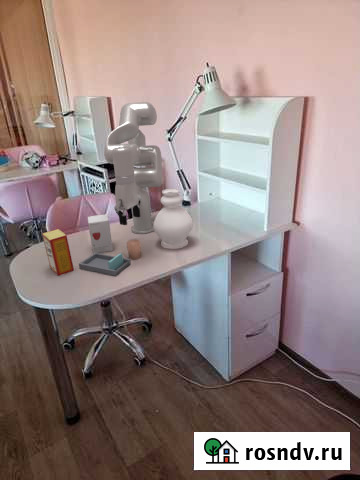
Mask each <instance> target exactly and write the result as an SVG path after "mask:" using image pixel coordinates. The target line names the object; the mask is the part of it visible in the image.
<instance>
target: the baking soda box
mask: <svg viewBox="0 0 360 480" xmlns="http://www.w3.org/2000/svg"><path fill="white" fill-rule="evenodd" d="M41 235H42V238H43V243H44V246H45V247H44V248H45V250H46V256H47V261H48V264H49V268H50V269H51V270H52V272H54V273H55V274H56V275H57V276H58V277H59V276H62V275H65V274H68V273H71V272H73V271H75V268H74V265H73V260H72V259H73V258H72V255H71V249H70V246H69V241H68V237H67V235H66V234H65V233H64V232H63V231H61V230H60V229H59V228H57V229H52V230H49V231H47V232H46V231H45V232H42V233H41Z"/></svg>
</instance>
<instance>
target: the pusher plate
mask: <svg viewBox="0 0 360 480" xmlns="http://www.w3.org/2000/svg"><path fill="white" fill-rule="evenodd" d="M123 256H124V255H123V252H120V253H118V254H116V256H115V257H114V258H113V259H111V260H110V261H109V262H108V265H109V269H112V270H115V269H117V268H118V267H119V266H120V265H122V264H123V263H124V262H123V258H124V257H123Z"/></svg>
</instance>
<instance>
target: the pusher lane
mask: <svg viewBox="0 0 360 480" xmlns="http://www.w3.org/2000/svg"><path fill="white" fill-rule="evenodd" d="M114 257H116V256H115V255H110V254H104V253H92V254H91V255H89V256H88V257H86V258H85V259H84V260H82V261H80V262H79V263H78V268H79V270H84V271H87V272H88V271H89V272H91V273H92V272H93V273H97V274H102V275H106V276H111V277H116V276H118V275H119V274H120V273H122V272H123V271H124V270H125V269H127V268H128V267H129V266H130V265H131V259H129V258H126V257H125V258H124V257H123V262H124V263H123V264H122V265H120V266H119V267H118V268H117V269H115V270H112V269H109V265H108V262H109V261H110V260H111V259H113V258H114Z"/></svg>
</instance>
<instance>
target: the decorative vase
mask: <svg viewBox="0 0 360 480" xmlns="http://www.w3.org/2000/svg"><path fill="white" fill-rule="evenodd" d="M179 193H180V189H178V188H167V189H166V188H165V189H163V190H161V194H163V195H162V197H160V203H161V205H163V207H162V208H161V209H160V210H159V212H158V213H157V215H156V216H155V220H154V221H153V224H154V231H153V232H154V233H155V234H156V235H157V236H158V237H159V238H160V239H161V242H160V246H161V247H162V248H164V249H168V250H173V249H174V250H178V249H182V248H184V247H186V246H187V245H188V244H189V240H188V239H187V237H188V236H189V235H190V233H191V232H192V231H193V227H194V224H193V219H192V217H191V215H190V214H189V213H188V211H186V209H184V208H183V207H182V206H181V203H183V197H182V196H181V195H180V194H179Z"/></svg>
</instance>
